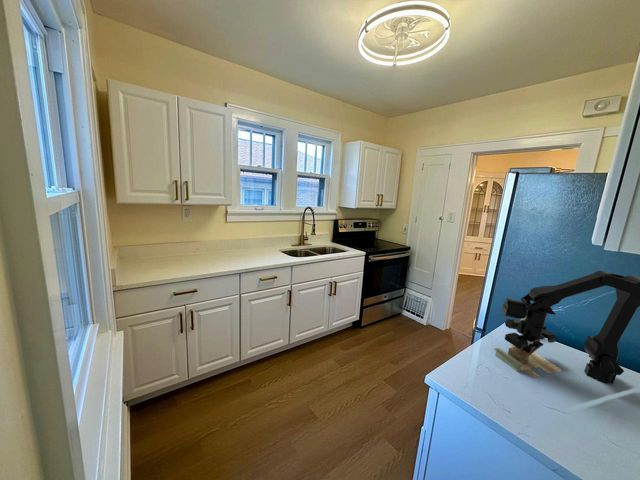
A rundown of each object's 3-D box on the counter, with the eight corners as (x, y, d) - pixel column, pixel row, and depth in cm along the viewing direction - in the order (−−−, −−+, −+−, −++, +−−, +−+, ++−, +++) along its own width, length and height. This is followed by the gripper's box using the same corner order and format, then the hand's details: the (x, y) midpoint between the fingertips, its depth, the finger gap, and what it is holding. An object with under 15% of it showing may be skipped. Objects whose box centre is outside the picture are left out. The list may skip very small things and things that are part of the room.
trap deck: (519, 346, 111) (521, 337, 110) (562, 372, 97) (565, 363, 96) (486, 352, 106) (488, 343, 105) (526, 381, 92) (529, 371, 91)
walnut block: (515, 356, 103) (518, 346, 102) (526, 363, 99) (529, 353, 98) (506, 357, 102) (509, 347, 101) (518, 365, 98) (520, 355, 96)
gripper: (531, 308, 107) (522, 340, 111) (496, 312, 102) (488, 347, 106) (561, 322, 97) (551, 358, 101) (524, 328, 92) (514, 366, 96)
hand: (525, 356), depth 101 cm, fingers closed
